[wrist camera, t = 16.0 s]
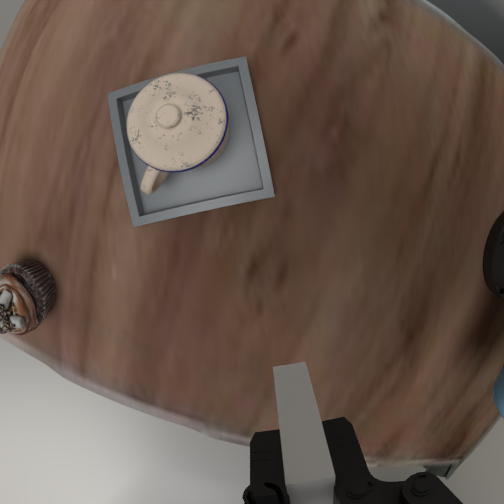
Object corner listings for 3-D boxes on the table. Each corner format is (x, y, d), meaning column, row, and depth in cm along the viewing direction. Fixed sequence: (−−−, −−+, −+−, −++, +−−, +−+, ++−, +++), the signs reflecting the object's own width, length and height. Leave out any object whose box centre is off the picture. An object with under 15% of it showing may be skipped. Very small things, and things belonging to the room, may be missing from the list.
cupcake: (72, 298, 39) (36, 330, 29) (38, 324, 40) (4, 355, 30) (37, 242, 37) (-7, 262, 27) (6, 274, 38) (-33, 297, 28)
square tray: (245, 65, 32) (245, 56, 29) (272, 194, 36) (274, 196, 33) (117, 98, 32) (107, 93, 29) (141, 222, 36) (133, 227, 33)
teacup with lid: (178, 82, 31) (150, 46, 20) (247, 116, 33) (248, 91, 21) (128, 171, 34) (80, 175, 22) (193, 208, 35) (170, 226, 24)
